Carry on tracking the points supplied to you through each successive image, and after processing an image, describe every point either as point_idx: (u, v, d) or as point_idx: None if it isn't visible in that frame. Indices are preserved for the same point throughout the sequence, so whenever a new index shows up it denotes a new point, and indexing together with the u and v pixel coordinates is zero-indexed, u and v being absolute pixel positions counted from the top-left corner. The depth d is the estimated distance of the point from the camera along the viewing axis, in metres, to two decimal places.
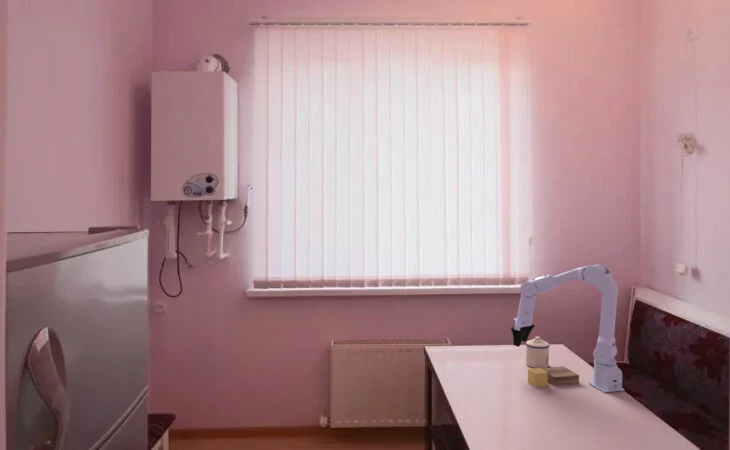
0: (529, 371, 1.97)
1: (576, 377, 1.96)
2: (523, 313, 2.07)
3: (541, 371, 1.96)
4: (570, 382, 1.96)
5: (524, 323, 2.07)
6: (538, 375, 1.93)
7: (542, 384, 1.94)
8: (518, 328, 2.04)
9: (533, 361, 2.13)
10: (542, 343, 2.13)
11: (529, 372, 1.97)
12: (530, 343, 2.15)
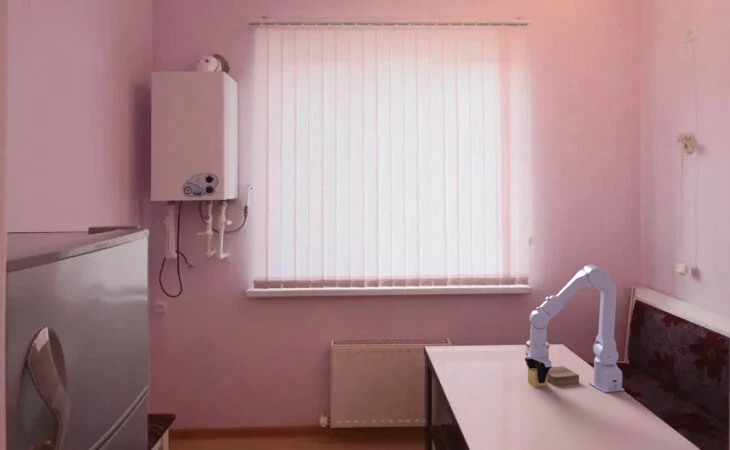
0: (529, 370, 1.97)
1: (576, 377, 1.96)
2: (542, 347, 1.93)
3: None
4: (570, 382, 1.96)
5: (544, 357, 1.93)
6: None
7: (542, 384, 1.94)
8: (550, 364, 1.89)
9: None
10: None
11: (529, 371, 1.97)
12: None
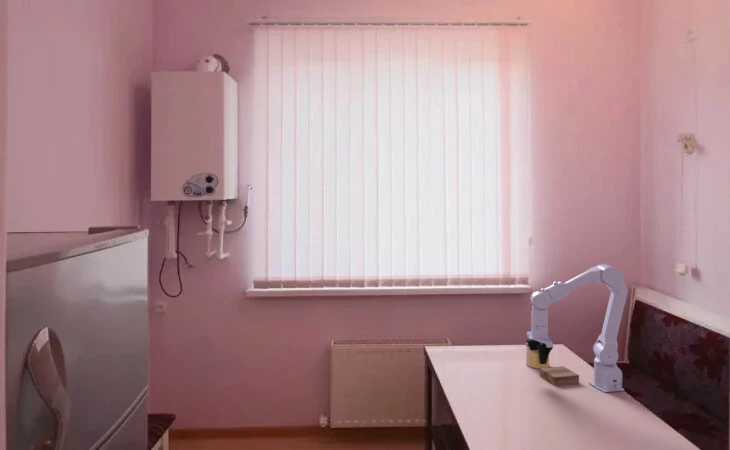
0: (531, 352, 1.96)
1: (576, 377, 1.96)
2: (543, 328, 1.92)
3: None
4: (570, 382, 1.96)
5: (546, 338, 1.93)
6: None
7: (543, 365, 1.94)
8: (551, 345, 1.88)
9: None
10: None
11: (530, 353, 1.97)
12: None
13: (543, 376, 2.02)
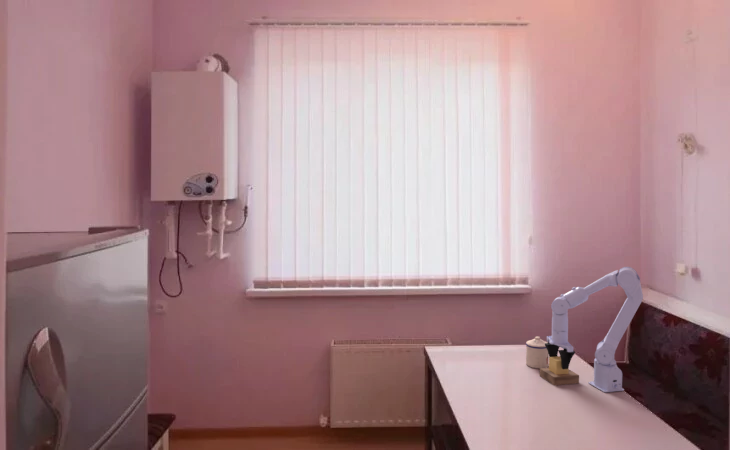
0: (550, 359, 2.01)
1: (576, 377, 1.96)
2: (564, 333, 1.96)
3: None
4: (570, 382, 1.96)
5: (566, 342, 1.97)
6: (559, 362, 1.97)
7: (563, 372, 1.98)
8: (572, 349, 1.93)
9: (533, 361, 2.13)
10: (542, 343, 2.13)
11: (550, 360, 2.01)
12: (530, 343, 2.15)
13: (543, 376, 2.02)
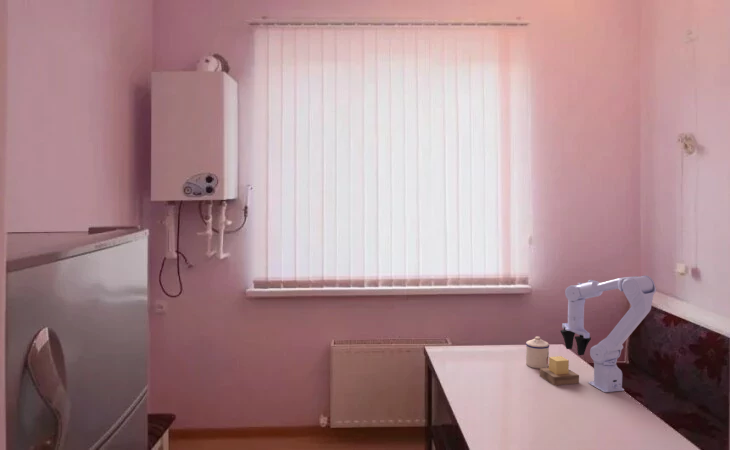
0: (550, 359, 2.01)
1: (576, 377, 1.96)
2: (580, 319, 2.00)
3: (562, 358, 2.00)
4: (570, 382, 1.96)
5: (582, 329, 2.01)
6: (559, 362, 1.97)
7: (563, 372, 1.98)
8: (588, 335, 1.96)
9: (533, 361, 2.13)
10: (542, 343, 2.13)
11: (550, 360, 2.01)
12: (530, 343, 2.15)
13: (543, 376, 2.02)
